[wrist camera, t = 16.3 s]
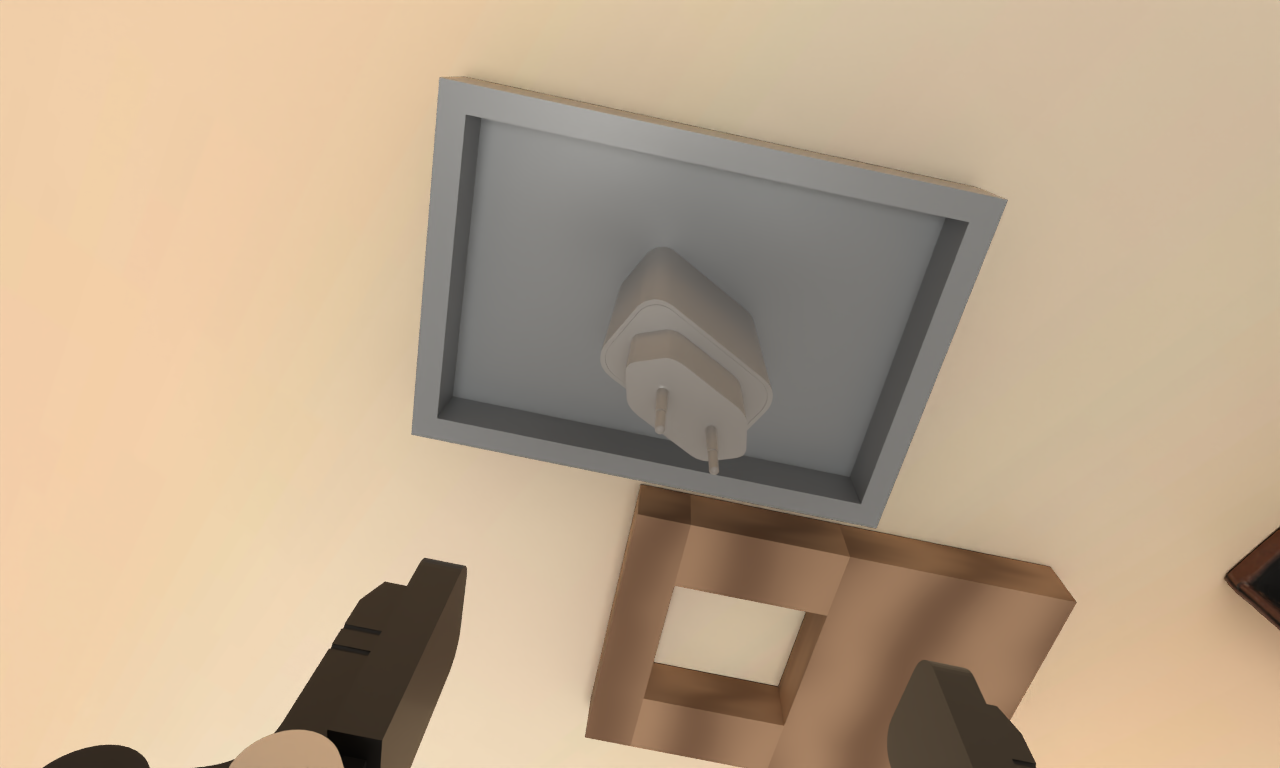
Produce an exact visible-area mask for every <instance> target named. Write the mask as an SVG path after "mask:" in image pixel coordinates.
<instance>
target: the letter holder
mask: <svg viewBox="0 0 1280 768" xmlns="http://www.w3.org/2000/svg"><path fill="white" fill-rule="evenodd" d="M1226 582H1227V583H1228V585H1229V586H1230V587H1231V588H1232V589H1233V590H1234V591H1235V592H1236V593H1237V594H1238V595H1239V596H1241V597H1242V598H1243V599H1244V600H1246V601H1247V602H1248V603H1249V604H1251V605H1252V606H1253V607H1254V608H1255V609H1256V610H1257V611H1258V612H1259V613H1261V614H1262V615H1263V616H1264V617H1266V618H1267V619H1268V620H1269V621H1270V622H1271V623H1272V624H1273V625H1275V626H1276V627H1277V628H1278V629H1279V630H1280V529H1279V530H1277V531H1276V532H1275V533H1274V534H1273V535H1272V536H1271V537H1269V538H1268V539H1267V540H1266V541H1264V542H1263V543H1262V544H1261V545H1260V546H1258V547H1257V548H1256V549H1255V550H1254V551H1253V552H1252V553H1251V554H1249V555H1248V556H1247V557H1246V558H1245V559H1244V560H1243V561H1242V562H1240V563H1239V564H1238V565H1237V566H1235V567H1234V568H1233V569H1232V570H1231V571H1230V572H1229V573H1228V574H1227V575H1226Z"/></svg>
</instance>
